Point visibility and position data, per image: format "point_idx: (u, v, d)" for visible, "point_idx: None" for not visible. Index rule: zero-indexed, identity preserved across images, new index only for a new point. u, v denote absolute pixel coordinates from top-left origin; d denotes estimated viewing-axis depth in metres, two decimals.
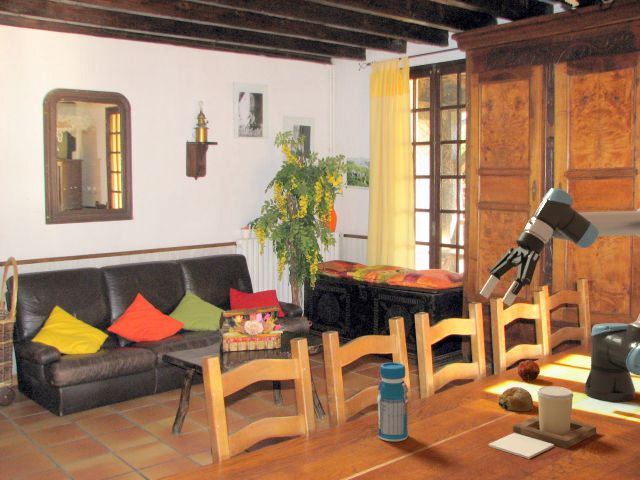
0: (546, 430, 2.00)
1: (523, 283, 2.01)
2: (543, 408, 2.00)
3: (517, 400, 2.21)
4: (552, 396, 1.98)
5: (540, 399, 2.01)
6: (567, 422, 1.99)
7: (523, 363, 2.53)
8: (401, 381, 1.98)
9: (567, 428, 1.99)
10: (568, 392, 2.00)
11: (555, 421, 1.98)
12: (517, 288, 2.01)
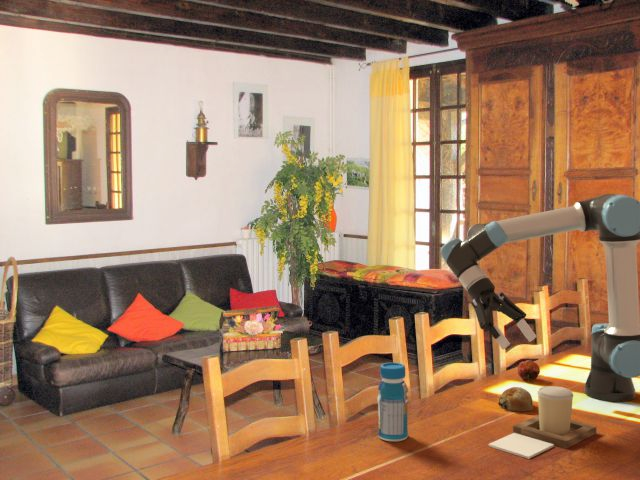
0: (546, 430, 2.00)
1: (487, 327, 2.05)
2: (543, 408, 2.00)
3: (517, 400, 2.21)
4: (552, 396, 1.98)
5: (540, 399, 2.01)
6: (567, 422, 1.99)
7: (523, 363, 2.53)
8: (401, 381, 1.98)
9: (567, 428, 1.99)
10: (568, 392, 2.00)
11: (555, 421, 1.98)
12: (492, 333, 2.05)
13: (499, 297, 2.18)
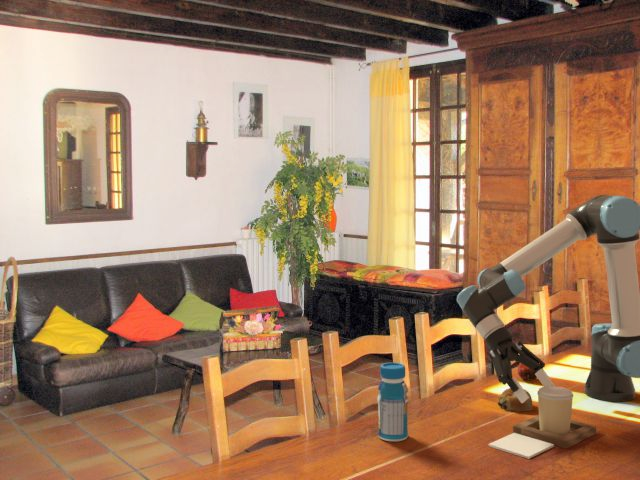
0: (546, 430, 2.00)
1: (505, 380, 2.01)
2: (543, 408, 2.00)
3: (517, 400, 2.21)
4: (552, 396, 1.98)
5: (540, 399, 2.01)
6: (567, 422, 1.99)
7: None
8: (401, 381, 1.98)
9: (567, 428, 1.99)
10: (568, 392, 2.00)
11: (555, 421, 1.98)
12: (510, 386, 2.01)
13: (517, 346, 2.14)
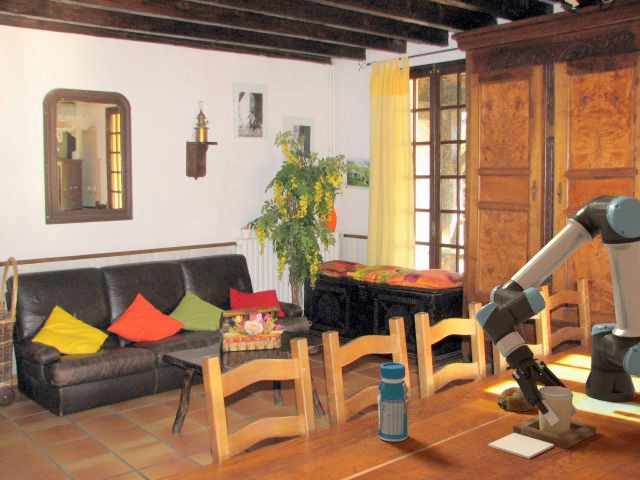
0: (546, 430, 2.00)
1: (535, 402, 1.98)
2: None
3: (516, 400, 2.21)
4: (552, 396, 1.98)
5: None
6: (567, 422, 1.99)
7: None
8: (401, 381, 1.98)
9: (567, 428, 1.99)
10: (568, 392, 2.00)
11: None
12: (540, 409, 1.98)
13: (539, 365, 2.10)
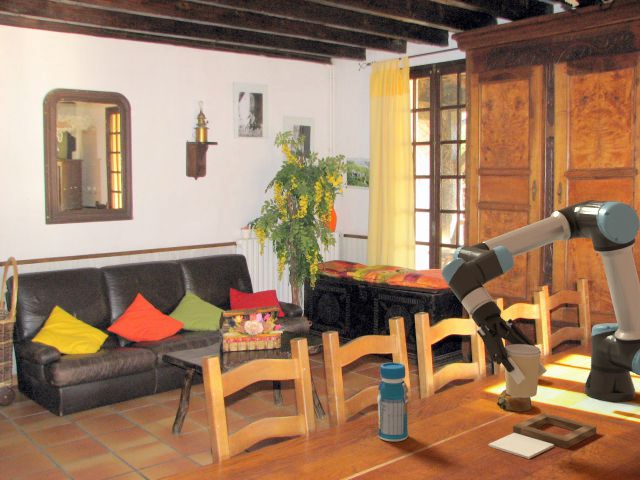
0: (512, 389, 1.90)
1: (500, 359, 1.88)
2: None
3: (516, 400, 2.21)
4: (518, 353, 1.87)
5: None
6: (534, 380, 1.88)
7: None
8: (401, 381, 1.98)
9: (534, 387, 1.89)
10: (535, 349, 1.90)
11: None
12: (505, 366, 1.88)
13: (507, 323, 2.00)
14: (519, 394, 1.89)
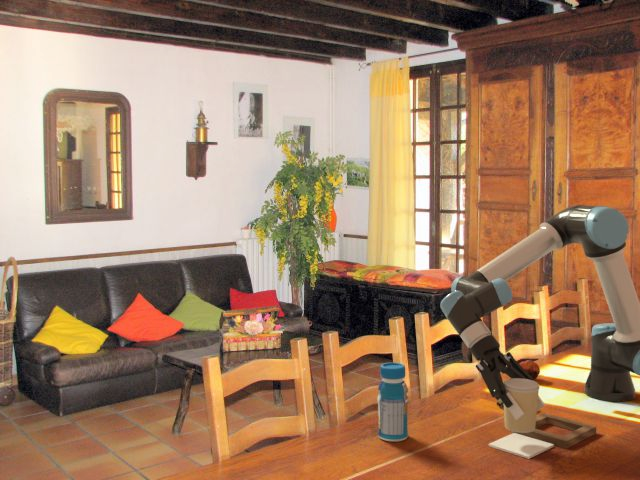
0: (510, 424, 1.90)
1: (499, 395, 1.88)
2: None
3: None
4: (517, 388, 1.88)
5: None
6: (532, 416, 1.89)
7: (523, 363, 2.53)
8: (401, 381, 1.98)
9: (532, 422, 1.89)
10: (534, 384, 1.91)
11: None
12: (504, 402, 1.88)
13: (505, 357, 2.00)
14: (518, 429, 1.89)
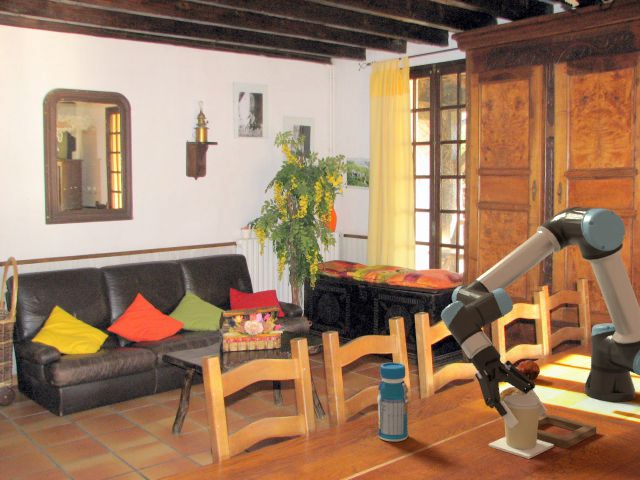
0: (512, 440, 1.91)
1: (493, 404, 1.88)
2: None
3: None
4: (517, 405, 1.89)
5: None
6: (533, 432, 1.90)
7: (523, 363, 2.53)
8: (401, 381, 1.98)
9: (533, 438, 1.90)
10: (535, 401, 1.91)
11: (521, 431, 1.89)
12: (498, 410, 1.88)
13: (505, 366, 2.01)
14: (519, 446, 1.90)
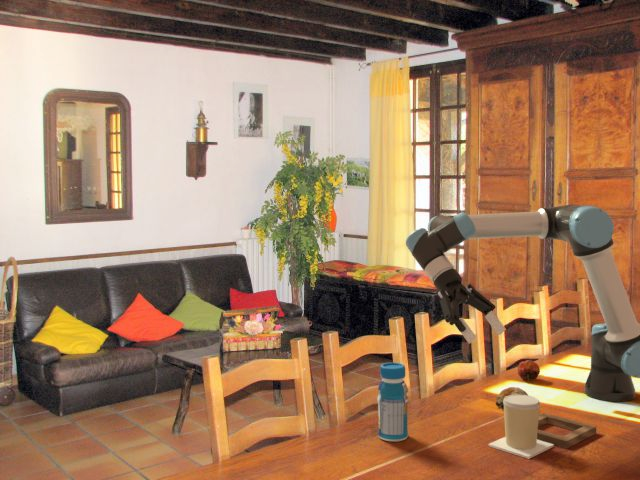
0: (511, 441, 1.91)
1: (452, 320, 1.96)
2: (509, 418, 1.91)
3: None
4: (517, 405, 1.88)
5: (505, 408, 1.91)
6: (533, 432, 1.90)
7: (523, 363, 2.53)
8: (401, 381, 1.98)
9: (533, 439, 1.90)
10: (535, 401, 1.91)
11: (521, 431, 1.89)
12: (457, 326, 1.96)
13: (467, 289, 2.09)
14: (519, 446, 1.90)
